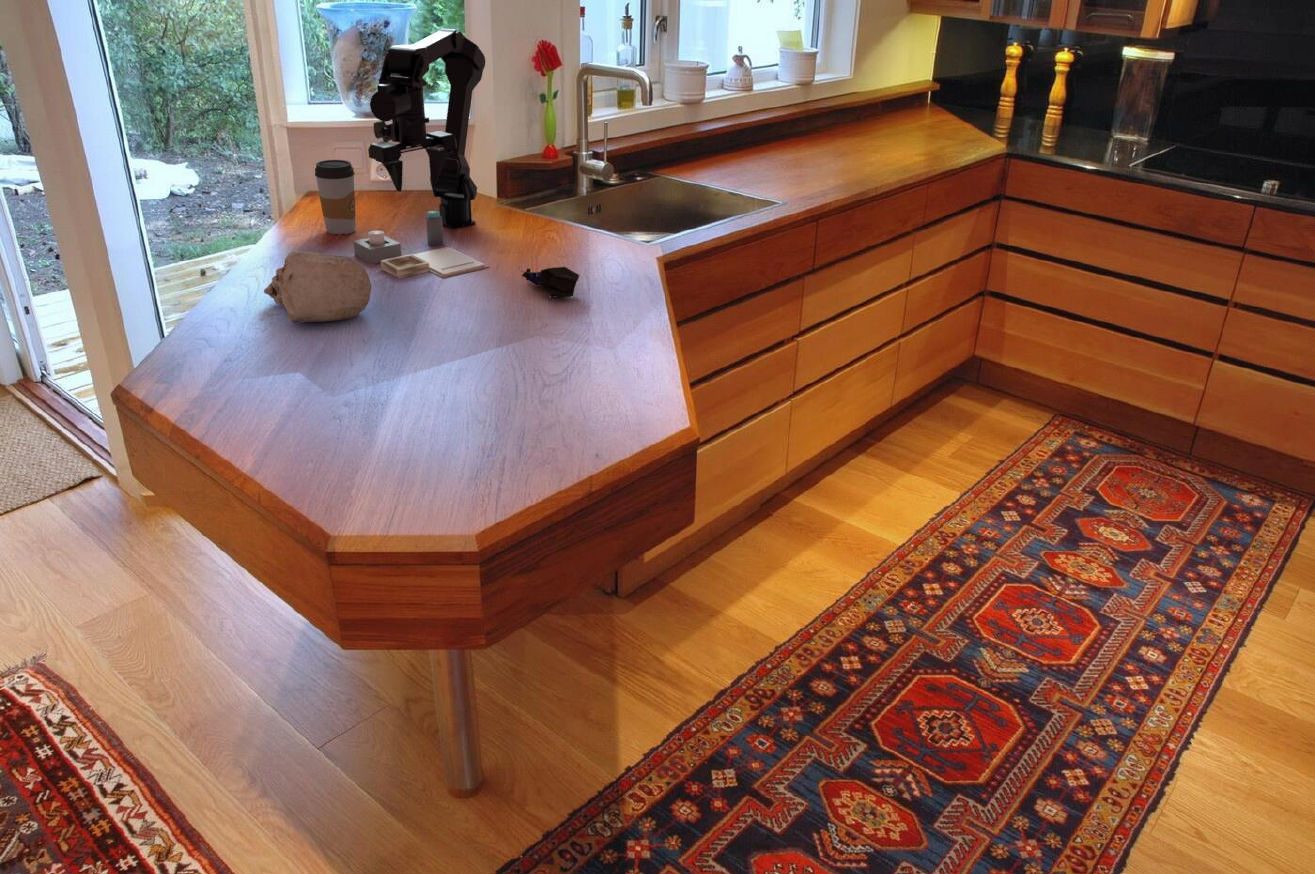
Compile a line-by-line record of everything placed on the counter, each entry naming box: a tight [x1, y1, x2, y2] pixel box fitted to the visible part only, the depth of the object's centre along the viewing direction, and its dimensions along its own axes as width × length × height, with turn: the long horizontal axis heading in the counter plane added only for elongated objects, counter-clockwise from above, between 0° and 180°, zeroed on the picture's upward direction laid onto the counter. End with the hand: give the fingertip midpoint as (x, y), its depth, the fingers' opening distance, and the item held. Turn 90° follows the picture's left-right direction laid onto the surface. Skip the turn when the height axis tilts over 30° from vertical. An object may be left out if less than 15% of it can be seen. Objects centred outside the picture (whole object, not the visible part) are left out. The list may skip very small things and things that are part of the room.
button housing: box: [353, 235, 402, 264], centre depth 211 cm, size 7×7×3 cm
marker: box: [425, 210, 445, 247], centre depth 219 cm, size 3×3×7 cm
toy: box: [517, 266, 580, 298], centre depth 196 cm, size 9×6×15 cm
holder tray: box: [380, 253, 430, 279], centre depth 205 cm, size 7×7×2 cm
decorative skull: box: [263, 250, 372, 323], centre depth 181 cm, size 12×18×20 cm
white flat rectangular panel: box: [412, 246, 490, 279], centre depth 210 cm, size 11×15×1 cm
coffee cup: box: [314, 159, 357, 236], centre depth 222 cm, size 8×8×15 cm
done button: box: [367, 230, 385, 246], centre depth 210 cm, size 3×3×3 cm
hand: (416, 187), depth 214 cm, fingers open, 9 cm apart
